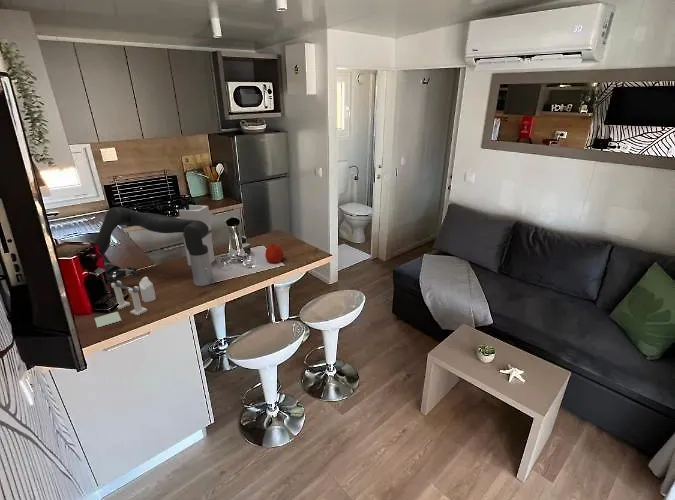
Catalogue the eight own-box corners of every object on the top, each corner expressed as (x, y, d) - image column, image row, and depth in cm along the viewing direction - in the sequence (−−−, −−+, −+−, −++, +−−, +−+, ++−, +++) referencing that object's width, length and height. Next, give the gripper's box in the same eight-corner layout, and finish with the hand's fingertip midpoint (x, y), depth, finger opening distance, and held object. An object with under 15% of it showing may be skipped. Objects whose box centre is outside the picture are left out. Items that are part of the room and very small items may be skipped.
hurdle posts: (113, 307, 167) (107, 283, 162) (123, 302, 171) (117, 279, 166) (137, 316, 160) (131, 291, 155) (147, 310, 164) (142, 287, 159)
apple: (287, 259, 218) (286, 243, 214) (275, 265, 210) (274, 249, 206) (273, 255, 224) (272, 239, 220) (261, 261, 215) (260, 245, 211)
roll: (135, 279, 166) (140, 274, 172) (140, 302, 171) (145, 296, 176) (148, 279, 167) (153, 274, 172) (153, 302, 171) (158, 296, 176)
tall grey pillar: (216, 262, 214) (208, 205, 200) (207, 270, 204) (198, 211, 191) (198, 261, 215) (189, 204, 202) (188, 268, 206) (178, 210, 192)
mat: (118, 312, 162) (117, 311, 162) (121, 321, 156) (121, 320, 156) (94, 319, 157) (94, 318, 157) (97, 328, 151) (97, 327, 150)
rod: (113, 286, 164) (112, 283, 163) (116, 284, 165) (115, 282, 164) (136, 293, 157) (135, 290, 157) (138, 292, 159) (138, 289, 158)
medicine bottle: (243, 258, 220) (241, 240, 215) (234, 255, 223) (232, 237, 219) (251, 254, 225) (249, 236, 221) (243, 252, 229) (241, 234, 224)
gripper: (92, 269, 174) (114, 276, 167) (120, 259, 186) (141, 265, 179) (96, 283, 177) (117, 290, 170) (123, 272, 189) (144, 279, 182)
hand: (129, 277), depth 175 cm, fingers open, 8 cm apart
